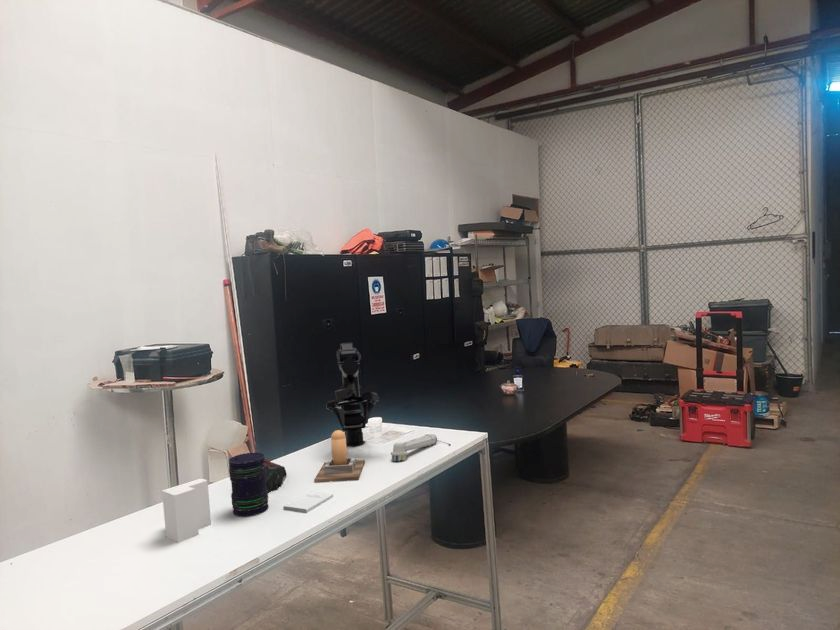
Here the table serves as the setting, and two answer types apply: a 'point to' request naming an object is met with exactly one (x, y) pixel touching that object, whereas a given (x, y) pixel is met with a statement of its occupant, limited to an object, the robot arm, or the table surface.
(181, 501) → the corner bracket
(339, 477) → the jig
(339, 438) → the ball
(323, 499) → the external hard drive
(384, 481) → the table surface
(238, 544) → the table surface
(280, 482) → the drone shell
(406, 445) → the grey cylindrical tool
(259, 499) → the storage jar
